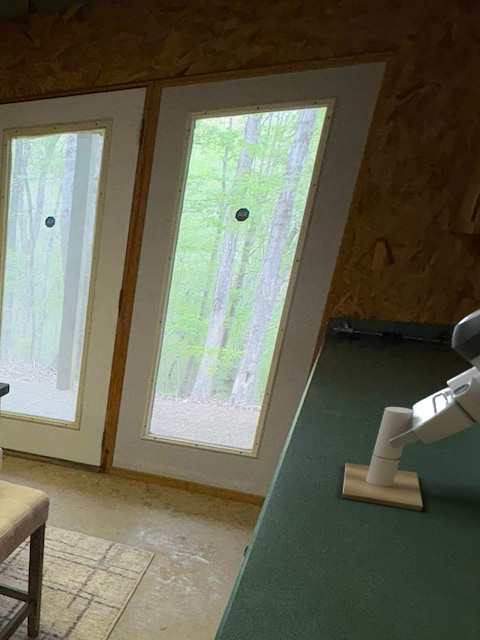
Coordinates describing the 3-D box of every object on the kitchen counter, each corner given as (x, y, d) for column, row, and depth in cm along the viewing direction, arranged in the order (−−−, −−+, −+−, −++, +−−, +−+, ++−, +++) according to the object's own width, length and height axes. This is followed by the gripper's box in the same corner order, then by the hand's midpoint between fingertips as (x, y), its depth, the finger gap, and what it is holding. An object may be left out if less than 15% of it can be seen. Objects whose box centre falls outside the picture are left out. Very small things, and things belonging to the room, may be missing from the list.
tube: (373, 485, 123) (393, 412, 118) (361, 478, 127) (380, 406, 122) (397, 486, 123) (418, 412, 117) (385, 478, 127) (405, 406, 121)
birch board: (345, 467, 136) (346, 462, 136) (415, 477, 129) (417, 472, 129) (341, 498, 121) (343, 493, 121) (421, 511, 114) (423, 506, 114)
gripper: (458, 371, 120) (382, 413, 130) (465, 393, 106) (378, 439, 115) (482, 396, 119) (403, 436, 129) (492, 422, 105) (402, 466, 114)
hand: (391, 438), depth 122 cm, fingers open, 8 cm apart
